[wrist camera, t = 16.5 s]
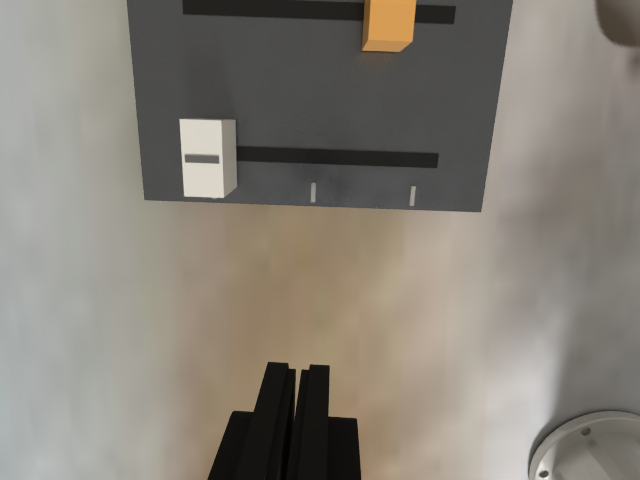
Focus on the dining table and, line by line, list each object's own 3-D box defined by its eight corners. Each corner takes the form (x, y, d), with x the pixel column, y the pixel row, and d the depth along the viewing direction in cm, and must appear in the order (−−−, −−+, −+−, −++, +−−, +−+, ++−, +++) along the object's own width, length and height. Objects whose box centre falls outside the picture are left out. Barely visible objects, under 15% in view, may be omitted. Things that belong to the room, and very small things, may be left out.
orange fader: (406, -30, 25) (421, -56, 21) (399, 51, 26) (412, 41, 22) (366, -31, 25) (374, -58, 21) (361, 50, 26) (368, 39, 22)
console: (506, -36, 27) (520, -48, 25) (471, 206, 32) (481, 212, 30) (135, -50, 27) (120, -63, 25) (155, 194, 32) (143, 200, 30)
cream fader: (235, 119, 28) (220, 120, 24) (236, 186, 29) (223, 198, 25) (199, 118, 28) (178, 119, 24) (202, 185, 29) (183, 196, 25)
